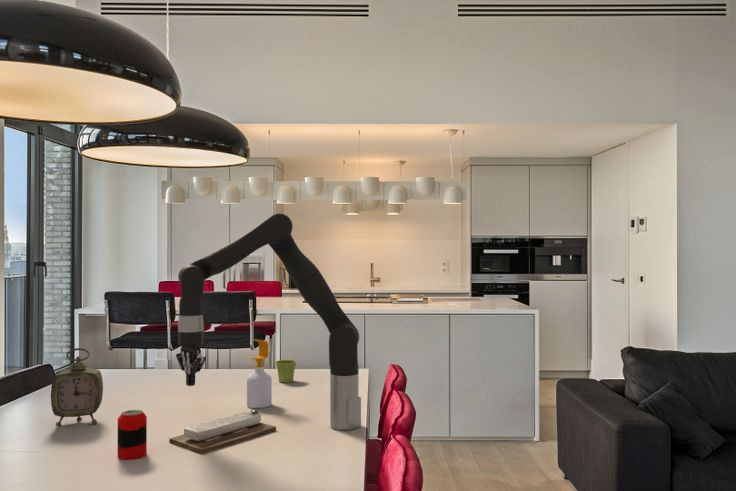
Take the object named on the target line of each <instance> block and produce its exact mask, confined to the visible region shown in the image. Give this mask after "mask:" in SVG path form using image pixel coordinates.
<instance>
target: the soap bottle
mask: <svg viewBox="0 0 736 491" xmlns="http://www.w3.org/2000/svg"><path fill="white" fill-rule="evenodd" d="M252 341H254V342H258V355H256V356H253V357H251V359H252V360H255V362H256V364H254V371H253V372H252V373H250V374H249V375H248V376H247V378H246V407H248V408H251V409H264V408H268V407H270V406H272V399H273V398H272V394H273V393H272V390H273V388H272V382H273V381H272V375H270V374H269V373H268V372H266V371H265V365H264V364H262V362H263V361H264V360H265V359H268V357H269V342H268V341H266V340H263V339H256V338H254V339H253V338H252Z"/></svg>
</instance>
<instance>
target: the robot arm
mask: <svg viewBox="0 0 736 491" xmlns="http://www.w3.org/2000/svg"><path fill="white" fill-rule="evenodd" d="M292 232H293V222H292V220H291V218H290V217H289V216H288V215H286V214H284V213H281V212H279V213H273V214H271V215H269V217H267V218H266V219H265V220H264V221H263V222H260V224H258V225H257V226H256V227H254V228H253V229H251V230H249V231H248V232H246V233H245V234H244V235H242V236H240V237H238V238H236V239H234V240H233V241H231V242H229V243H227V244H225V245H223V246H221V247H219V248H217V249H215V250H214V251H212V252H210V253H208V254H207V255H205V256H204V257H202V258H200V259H197V260H195V261H193V262H190V263H188V264H186V265H185V266H183V267H182V268H181V269H180V270H179V272H178V278H177V279H178V281H179V283H180V297H179V298H180V299H179V304H178V306H179V307H178V310H179V311H178V324H177V331H178V333H177V343H178V344H177V345H178V346H180V352H178V353H175V357H176V360H177V362H178V364H179V367H180V370H181V371H182V372H184V374H185V383H186V384H185V385H186V386H187V387H192V386H196V374H197V373H198V372H201V371H202V368H203V366H204V364H205V362H206V361H207V357H206V356H202V351H201V349H202V348H201V346H202V345H203V344H204V316H203V315H204V314H203V312H204V311H203V308H204V307H203V305H204V304H203V303H204V302H203V296H204V288H205V281H206V280H207V279H209V278H211V277H213V276H215V275H218V274H221V273H223V272H225V271H226V270H229V269H231V268H232V267H234V266H236V265H237V264H238V263H240V262H241V261H243V260H245V258H247V257H249V256H250V255H251V254H253V253H254V252H256V251H257V250H259V249H261V248H263V247H264V246H266V245H269V247H270V248H271V249H272V250H273V252H274V253H275V254H276V256H278V258H279V259H280V262H282V265H283V266H284V269H285V270H286V272H287V273H288V275H289V277H290V279H291V280H292V282H293V284H294V286H295V287H296V290H298V292H299V293H300V295H301V297H302V299H303V300H304V301H305V303H307V304H308V305H309V307H310V308H312V310H313V311H314V312H316V314H317V315H318V316H319V317H320V318H321V320H322V322H323V323H324V325H325V326H326V329H327V330H328V332H329V335H328V336H329V337H328V364H329V365H328V366H329V369H330V370H329V372H330V375H329V382H330V383H329V388H330V390H329V394H330V395H329V397H330V398H329V399H330V400H329V404H330V406H329V408H330V409H329V411H330V414H329V418H330V419H329V420H330V428H331V429H334V430H339V431H349V432H350V431H351V430H354V429H357V428H360V427H362V397H361V396H359V380H360V379H359V378H360V377H359V374H360V372H359V371H360V370H359V369H360V368H359V366H360V365H359V363H358V362H359V360H358V359H359V358H358V345H359V341H360V333H359V330H358V329H357V327H356V326H355V325H354V323H353V322H352V320H350V318H349V317H348V316H347V314H346V313H345V312H344V310H343V309H342V308H341V306H340V304H339V302H338V301H337V299H336V297H335V295H334V293H333V292H332V289H331V288H330V286H329V285H328V282H327V281H326V279H325V278H324V276H323V274H322V273H321V272H320V270H319V269H318V267H317V266H316V265H315V264H314V263H313V262H312V261H311V260H310V259H309V257H307V256H306V255H305V254H304V253H303V252H302V251H301V249H300V248H299V247H298V245H297V242H296V241H295V239H294V238H293V236H292Z"/></svg>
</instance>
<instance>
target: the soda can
mask: <svg viewBox="0 0 736 491" xmlns="http://www.w3.org/2000/svg"><path fill="white" fill-rule="evenodd" d="M147 417H148V416H147V414H146V413H145V412H144V411H143V410H140V409H131V410H125V411H123V412H122V413H121V414H119V416H118V418H117V458H118V459H120V460H122V461H132V460H138V459H141V458H143V457H145V456H146V455H147V452H148V451H147V450H148V449H147V448H148V447H147V444H148V443H147V440H148V439H147V438H148V437H147V436H148V435H147V433H148V431H147V427H148V426H147V425H148V424H147V422H148V421H147V419H148V418H147Z"/></svg>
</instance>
